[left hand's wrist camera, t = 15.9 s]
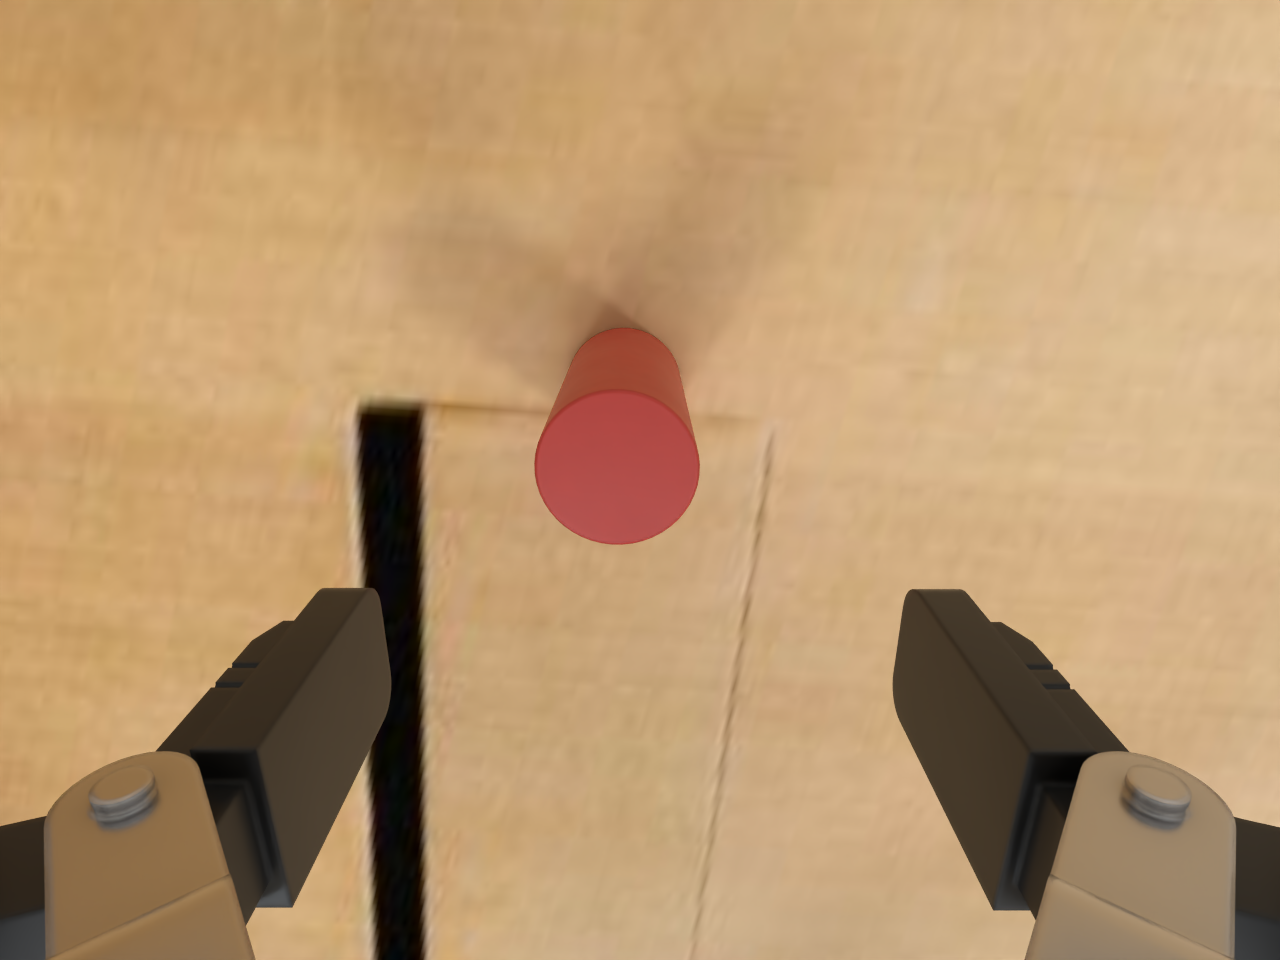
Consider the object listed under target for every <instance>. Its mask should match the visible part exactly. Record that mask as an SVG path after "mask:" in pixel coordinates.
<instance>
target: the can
mask: <svg viewBox="0 0 1280 960" xmlns="http://www.w3.org/2000/svg"><path fill="white" fill-rule="evenodd" d="M534 464H535V477H536V483H537V486H538V489H539V492H540V495H541V497H542V499H543V501H544V503H545V505H546V506H547V508H548V509H549V511H550V512H551V513H552V514H553V515H554V517H555V518H556V519H557V520H558V521H559V522H560V523H562V524H563V525H564V526H565V527H567V528H568V529H569V530H571V531H572V532H574V533H576V534H578V535H580V536H581V537H584V538H586V539H589V540H592V541H596V542H600V543H605V544H631V543H636V542H640V541H644V540H647V539H649V538H652V537H654V536H656V535H658V534H660V533H662V532H663V531H665V530H666V529H668V528H669V527H670V526H672V525H673V524H674V523H675V522H676V521H677V520H678V519H679V518H680V517H681V516H682V515H683V513H684V512H685V511H686V509H687V508H688V506H689V505H690V503H691V501H692V499H693V497H694V494H695V491H696V488H697V485H698V480H699V470H700V463H699V454H698V450H697V446H696V441H695V437H694V433H693V429H692V425H691V420H690V416H689V412H688V408H687V403H686V399H685V395H684V391H683V386H682V382H681V378H680V374H679V370H678V366H677V364H676V361H675V359H674V357H673V355H672V354H671V352H670V351H669V350H668V348H667V347H666V346H665V345H664V344H663V343H662V342H661V341H659V340H658V339H657V338H655V337H654V336H652V335H650V334H648V333H646V332H644V331H640V330H637V329H631V328H616V329H611V330H607V331H604V332H601V333H599V334H597V335H595V336H594V337H592V338H591V339H589V340H588V341H587V342H586V343H585V344H584V345H583V346H582V347H581V348H580V349H579V351H578V352H577V353H576V355H575V357H574V359H573V361H572V363H571V365H570V368H569V370H568V373H567V375H566V377H565V380H564V382H563V384H562V387H561V389H560V392H559V394H558V396H557V399H556V401H555V403H554V406H553V408H552V411H551V413H550V415H549V418H548V420H547V422H546V425H545V427H544V430H543V432H542V434H541V437H540V439H539V442H538V445H537V449H536V453H535V463H534Z"/></svg>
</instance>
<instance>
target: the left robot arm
mask: <svg viewBox="0 0 1280 960" xmlns="http://www.w3.org/2000/svg"><path fill="white" fill-rule="evenodd" d="M390 694H391V674H390V666H389V659H388V652H387V645H386V638H385V631H384V624H383V617H382V610H381V604H380V599H379V596H378V593H377V592H376V590H375V589H373V588H322V589H321V590H319V591H318V592H317V593H316V594H315V596H314V597H313V598H312V599H311V601H310V602H309V603H308V604H307V606H306V607H305V608H304V609H303V610H302V612H301V613H300V614H299V615H298V617H297V618H296V619H295V620H294V621H282V622H281V623H279V624H278V625H276V626H274V627H273V628H271V629H270V630H268V631H266V632H265V633H263V634H262V635H260V636H259V637H257V638H255V639H254V640H252V641H251V642H250V644H249V645H248V646H247V647H246V648H245V649H244V651H243V652H242V653H241V654H240V655H239V656H238V657H237V659H236V660H235V661H234V662H233V663H232V668H228V669H227V670H226V671H225V672H224V673H223V675H222V676H221V677H220V678H219V679H218V680H217V682H216V686H215V688H210V690H209V691H208V692H207V693H206V694H205V695H204V696H203V698H202V699H201V700H200V701H199V702H198V703H197V704H196V706H195V707H194V708H193V709H192V710H191V711H190V712H189V714H188V715H187V716H186V717H185V718H184V719H183V721H182V722H181V723H180V724H179V725H178V726H177V727H176V729H175V730H174V731H173V732H172V733H171V734H170V735H169V737H168V738H167V739H166V740H165V741H164V742H163V743H162V745H161V746H160V747H159V748H158V749H157V750H156V752H149V753H143V754H139V755H134V756H131V757H127V758H124V759H121V760H118V761H116V762H113V763H111V764H108V765H106V766H104V767H102V768H100V769H98V770H96V771H94V772H93V773H91V774H89V775H87V776H86V777H84V778H83V779H81V780H80V781H78V782H77V783H76V784H74V785H73V786H71V787H70V788H69V789H68V790H67V791H66V792H65V793H63V794H62V795H61V797H60V798H59V799H58V800H57V801H56V802H55V803H54V805H53V806H52V808H51V809H50V810H49V812H48V814H47V816H44V817H40V818H35V819H31V820H26V821H22V822H17V823H13V824H8V825H4V826H0V960H255V956H254V953H253V950H252V946H251V943H250V939H249V936H248V932H247V929H246V924H247V923H248V921H249V919H250V917H251V915H252V913H253V911H254V910H255V908H256V907H293V905H294V903H295V901H296V899H297V897H298V895H299V893H300V891H301V889H302V887H303V885H304V883H305V880H306V878H307V876H308V874H309V872H310V870H311V868H312V866H313V864H314V862H315V860H316V858H317V856H318V854H319V852H320V850H321V848H322V846H323V844H324V842H325V840H326V837H327V835H328V833H329V831H330V829H331V827H332V825H333V823H334V821H335V819H336V817H337V815H338V813H339V811H340V809H341V807H342V805H343V803H344V801H345V799H346V797H347V794H348V792H349V790H350V788H351V786H352V784H353V782H354V780H355V778H356V776H357V774H358V772H359V770H360V768H361V766H362V764H363V762H364V760H365V758H366V756H367V754H368V751H369V749H370V747H371V745H372V743H373V741H374V739H375V737H376V735H377V733H378V731H379V729H380V727H381V725H382V723H383V721H384V719H385V716H386V713H387V710H388V706H389V701H390ZM893 697H894V704H895V708H896V712H897V715H898V718H899V720H900V722H901V724H902V727H903V729H904V731H905V733H906V735H907V737H908V739H909V741H910V743H911V745H912V747H913V749H914V751H915V753H916V755H917V757H918V759H919V761H920V763H921V765H922V767H923V769H924V771H925V773H926V775H927V777H928V779H929V781H930V783H931V785H932V787H933V789H934V791H935V793H936V795H937V797H938V799H939V801H940V803H941V805H942V807H943V809H944V811H945V813H946V816H947V818H948V820H949V822H950V824H951V826H952V828H953V830H954V832H955V834H956V836H957V838H958V840H959V842H960V844H961V846H962V848H963V850H964V852H965V854H966V856H967V858H968V860H969V862H970V864H971V866H972V868H973V870H974V872H975V874H976V876H977V878H978V880H979V882H980V884H981V886H982V888H983V890H984V892H985V894H986V896H987V898H988V900H989V902H990V905H991V907H992V909H993V910H1031V912H1032V914H1033V916H1034V918H1035V920H1036V922H1035V925H1034V929H1033V932H1032V936H1031V939H1030V943H1029V946H1028V950H1027V953H1026V956H1025V960H1280V827H1275V826H1271V825H1266V824H1262V823H1257V822H1253V821H1248V820H1244V819H1240V818H1236V817H1233V814H1232V812H1231V810H1230V809H1229V808H1228V806H1227V805H1226V803H1225V802H1224V801H1223V800H1222V799H1221V798H1220V797H1219V795H1218V794H1217V793H1215V792H1214V791H1213V790H1212V789H1211V788H1210V787H1209V786H1207V785H1206V784H1204V783H1203V782H1202V781H1200V780H1199V779H1197V778H1196V777H1194V776H1193V775H1191V774H1189V773H1187V772H1186V771H1184V770H1182V769H1180V768H1178V767H1176V766H1174V765H1172V764H1169V763H1167V762H1164V761H1162V760H1159V759H1156V758H1153V757H1149V756H1146V755H1141V754H1137V753H1131V752H1129V751H1128V750H1127V749H1126V748H1125V747H1124V745H1123V744H1122V743H1121V742H1120V741H1119V740H1118V739H1117V737H1116V736H1115V735H1114V734H1113V733H1112V732H1111V731H1110V729H1109V728H1108V727H1107V726H1106V725H1105V724H1104V723H1103V721H1102V720H1101V719H1100V718H1099V717H1098V716H1097V715H1096V714H1095V712H1094V711H1093V710H1092V709H1091V708H1090V707H1089V706H1088V704H1087V703H1086V702H1085V701H1084V700H1083V699H1082V698H1081V696H1080V695H1079V694H1078V693H1077V692H1076V691H1075V690H1074V689H1070V684H1069V683H1068V682H1067V681H1066V679H1065V678H1064V677H1063V676H1062V675H1061V674H1060V673H1059V671H1058V670H1053V665H1052V663H1051V662H1050V661H1049V660H1048V659H1047V658H1046V657H1045V656H1044V654H1043V653H1042V652H1041V651H1040V650H1039V649H1038V648H1037V646H1036V645H1035V644H1034V643H1033V642H1032V641H1030V640H1029V639H1027V638H1025V637H1024V636H1022V635H1021V634H1019V633H1018V632H1016V631H1014V630H1013V629H1011V628H1010V627H1008V626H1006V625H1005V624H1003V623H1002V622H990V621H989V620H988V618H987V617H986V616H985V615H984V613H983V612H982V611H981V610H980V609H979V607H978V606H977V605H976V604H975V603H974V601H973V600H972V599H971V598H970V596H969V595H968V594H967V593H966V592H965V591H963V590H961V589H912V590H910V591H909V592H908V593H907V595H906V597H905V600H904V605H903V611H902V618H901V625H900V632H899V639H898V646H897V652H896V659H895V666H894V673H893Z"/></svg>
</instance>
